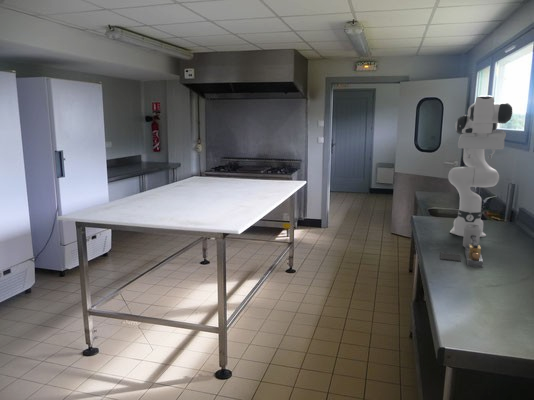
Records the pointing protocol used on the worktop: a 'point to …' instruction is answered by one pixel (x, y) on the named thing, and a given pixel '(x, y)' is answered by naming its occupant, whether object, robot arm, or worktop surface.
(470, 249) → the brown wooden block
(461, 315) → the worktop surface
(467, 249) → the body
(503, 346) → the worktop surface
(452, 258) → the mat
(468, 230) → the can
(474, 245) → the lever
